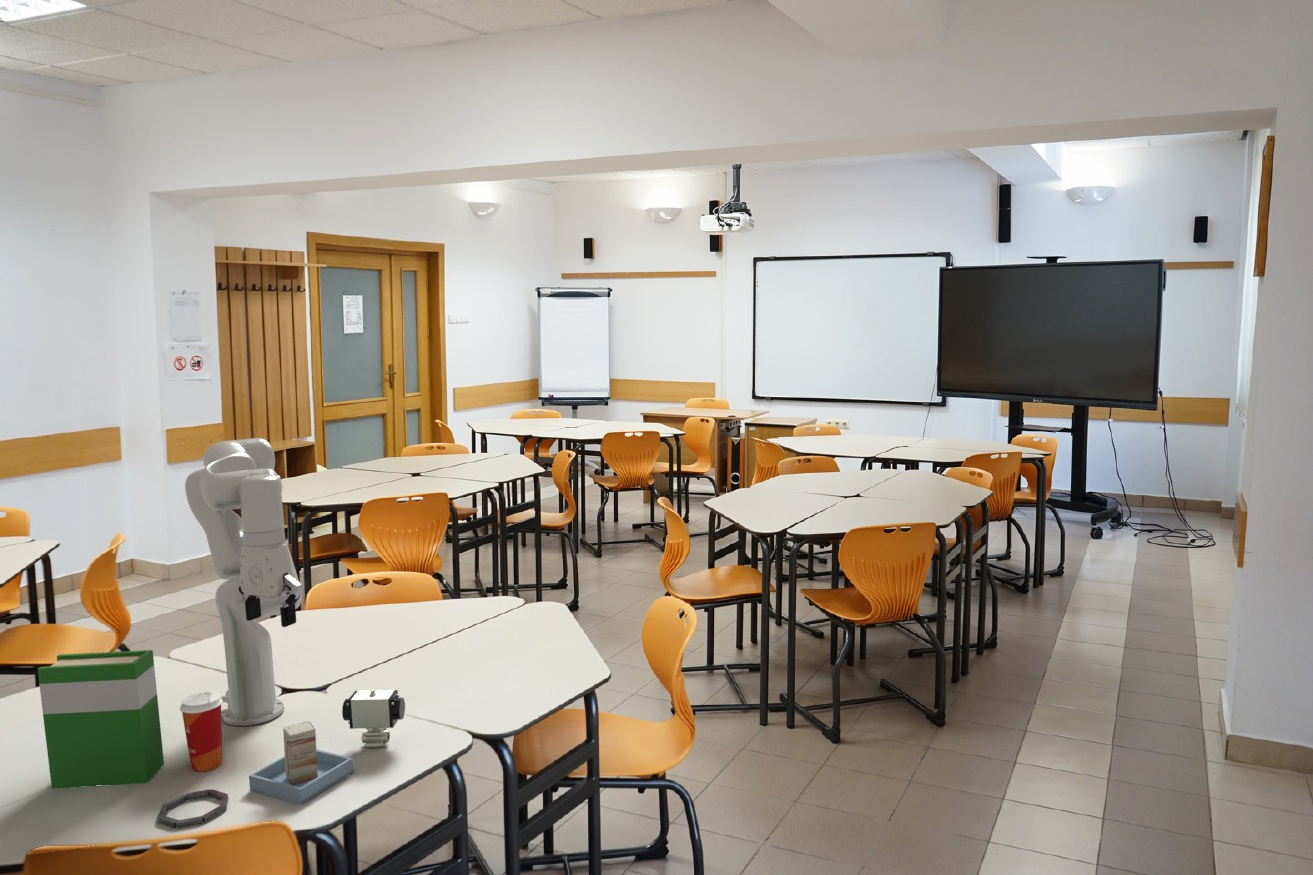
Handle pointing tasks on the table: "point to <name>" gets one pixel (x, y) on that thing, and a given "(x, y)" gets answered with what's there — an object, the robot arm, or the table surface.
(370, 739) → the pneumatic valve
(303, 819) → the table surface
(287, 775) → the skincare box
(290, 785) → the tray
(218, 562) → the robot arm
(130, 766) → the hardback book
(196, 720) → the paper cup
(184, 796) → the collar
